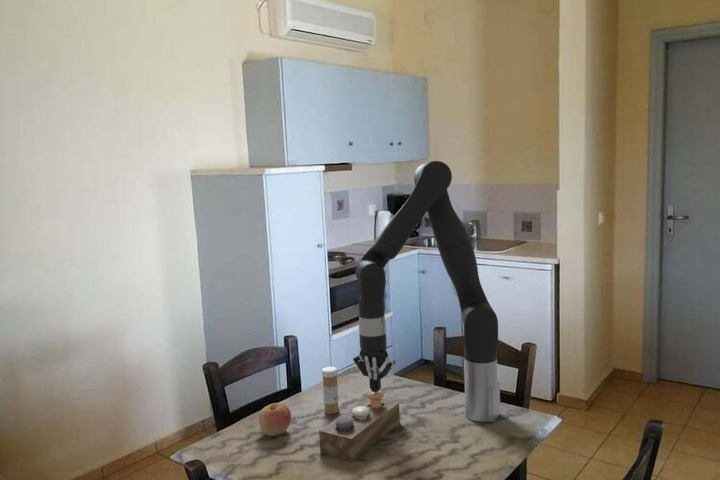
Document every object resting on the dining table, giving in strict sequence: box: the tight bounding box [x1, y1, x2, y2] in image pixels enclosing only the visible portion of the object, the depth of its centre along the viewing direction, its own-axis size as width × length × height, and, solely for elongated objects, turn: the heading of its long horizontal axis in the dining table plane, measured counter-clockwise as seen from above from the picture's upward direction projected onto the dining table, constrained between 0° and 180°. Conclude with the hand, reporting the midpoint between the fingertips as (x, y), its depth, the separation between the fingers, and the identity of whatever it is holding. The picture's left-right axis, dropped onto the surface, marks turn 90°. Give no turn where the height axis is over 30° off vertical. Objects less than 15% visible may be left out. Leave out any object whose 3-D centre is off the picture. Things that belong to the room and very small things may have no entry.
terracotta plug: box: [366, 389, 384, 409], centre depth 168 cm, size 5×5×7 cm
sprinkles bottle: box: [321, 366, 340, 415], centre depth 179 cm, size 5×5×13 cm
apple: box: [258, 402, 292, 437], centre depth 166 cm, size 9×9×8 cm
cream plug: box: [352, 406, 369, 420], centre depth 162 cm, size 5×5×7 cm
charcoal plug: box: [336, 418, 353, 432], centre depth 155 cm, size 5×5×7 cm
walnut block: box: [318, 397, 401, 462], centre depth 162 cm, size 10×25×6 cm, turn 148°
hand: (375, 391), depth 167 cm, fingers closed
